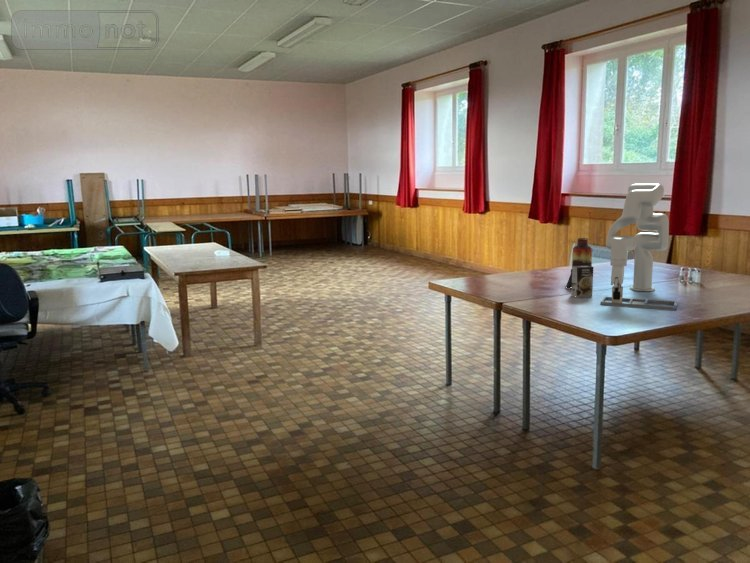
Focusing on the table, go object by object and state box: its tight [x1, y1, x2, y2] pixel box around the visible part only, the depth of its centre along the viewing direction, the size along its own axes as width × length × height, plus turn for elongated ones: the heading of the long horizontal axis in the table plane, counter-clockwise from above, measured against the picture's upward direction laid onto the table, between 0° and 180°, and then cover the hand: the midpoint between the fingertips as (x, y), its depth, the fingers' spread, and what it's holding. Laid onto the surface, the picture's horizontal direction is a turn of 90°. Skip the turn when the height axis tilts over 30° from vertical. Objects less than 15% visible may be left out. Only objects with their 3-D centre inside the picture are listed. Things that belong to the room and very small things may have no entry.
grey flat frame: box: [599, 296, 678, 311], centre depth 302 cm, size 14×34×2 cm, turn 62°
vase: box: [571, 237, 593, 267], centre depth 366 cm, size 11×11×26 cm
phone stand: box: [565, 268, 572, 288], centre depth 346 cm, size 9×6×12 cm, turn 44°
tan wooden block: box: [611, 285, 624, 303], centre depth 306 cm, size 4×4×8 cm
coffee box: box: [570, 265, 594, 298], centre depth 325 cm, size 9×6×16 cm
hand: (617, 298), depth 307 cm, fingers closed on tan wooden block, 4 cm apart
